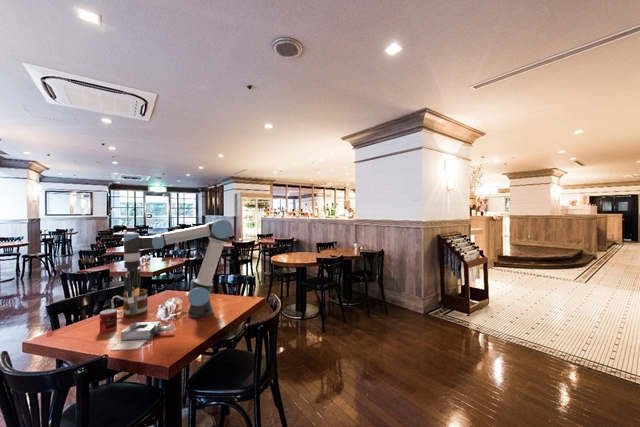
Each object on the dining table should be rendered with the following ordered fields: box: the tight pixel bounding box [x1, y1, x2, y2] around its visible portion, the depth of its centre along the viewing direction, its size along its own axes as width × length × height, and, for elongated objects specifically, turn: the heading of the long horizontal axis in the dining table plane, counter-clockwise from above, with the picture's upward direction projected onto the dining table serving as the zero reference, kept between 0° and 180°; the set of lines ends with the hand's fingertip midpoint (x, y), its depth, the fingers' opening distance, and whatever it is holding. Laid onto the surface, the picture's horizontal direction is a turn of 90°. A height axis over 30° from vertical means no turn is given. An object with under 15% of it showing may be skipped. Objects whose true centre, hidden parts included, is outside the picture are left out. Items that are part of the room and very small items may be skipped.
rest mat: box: [110, 340, 148, 352], centre depth 138 cm, size 12×9×1 cm
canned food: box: [99, 308, 118, 334], centre depth 156 cm, size 8×8×11 cm
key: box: [127, 286, 140, 314], centre depth 157 cm, size 4×4×14 cm
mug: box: [110, 288, 148, 319], centre depth 180 cm, size 20×14×15 cm
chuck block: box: [120, 321, 174, 342], centre depth 150 cm, size 23×12×6 cm, turn 98°
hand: (133, 301), depth 157 cm, fingers closed on key, 4 cm apart
